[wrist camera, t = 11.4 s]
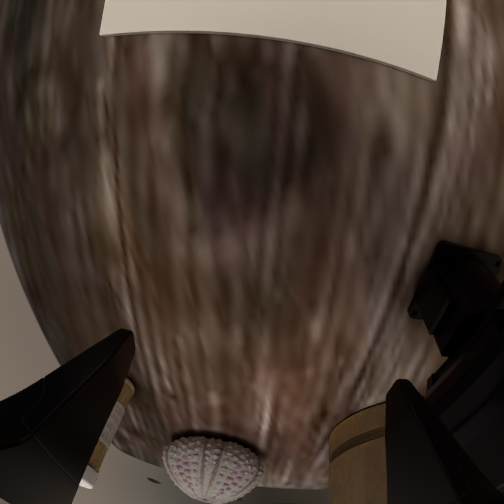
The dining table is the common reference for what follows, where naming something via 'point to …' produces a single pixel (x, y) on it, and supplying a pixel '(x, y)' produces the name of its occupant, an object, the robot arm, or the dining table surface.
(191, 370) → the dining table surface
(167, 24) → the socket board
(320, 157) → the dining table surface
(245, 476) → the sea urchin shell
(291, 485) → the dining table surface
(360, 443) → the wooden container
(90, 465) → the sprinkles bottle
